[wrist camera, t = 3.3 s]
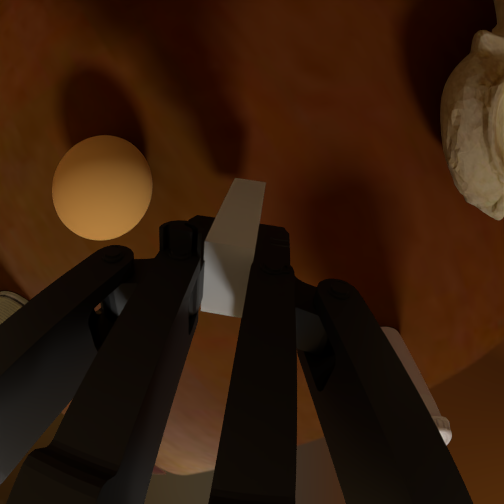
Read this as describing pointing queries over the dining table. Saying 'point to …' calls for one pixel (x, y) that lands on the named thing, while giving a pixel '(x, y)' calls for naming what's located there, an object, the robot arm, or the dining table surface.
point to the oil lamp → (477, 120)
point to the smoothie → (418, 381)
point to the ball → (102, 187)
